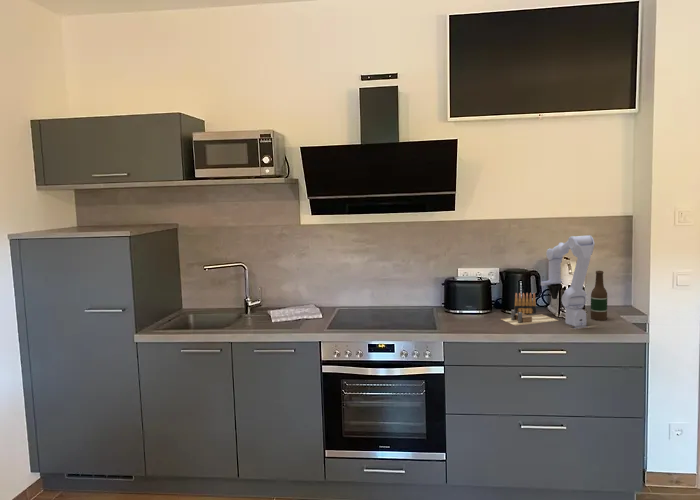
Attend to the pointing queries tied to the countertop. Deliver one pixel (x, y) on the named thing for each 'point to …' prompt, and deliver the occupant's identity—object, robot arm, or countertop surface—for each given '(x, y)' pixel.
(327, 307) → the countertop surface
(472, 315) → the countertop surface
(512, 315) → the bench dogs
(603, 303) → the beer bottle
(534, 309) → the ammunition clip
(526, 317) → the tan cardboard box
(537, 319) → the bench board
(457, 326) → the countertop surface
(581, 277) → the robot arm
